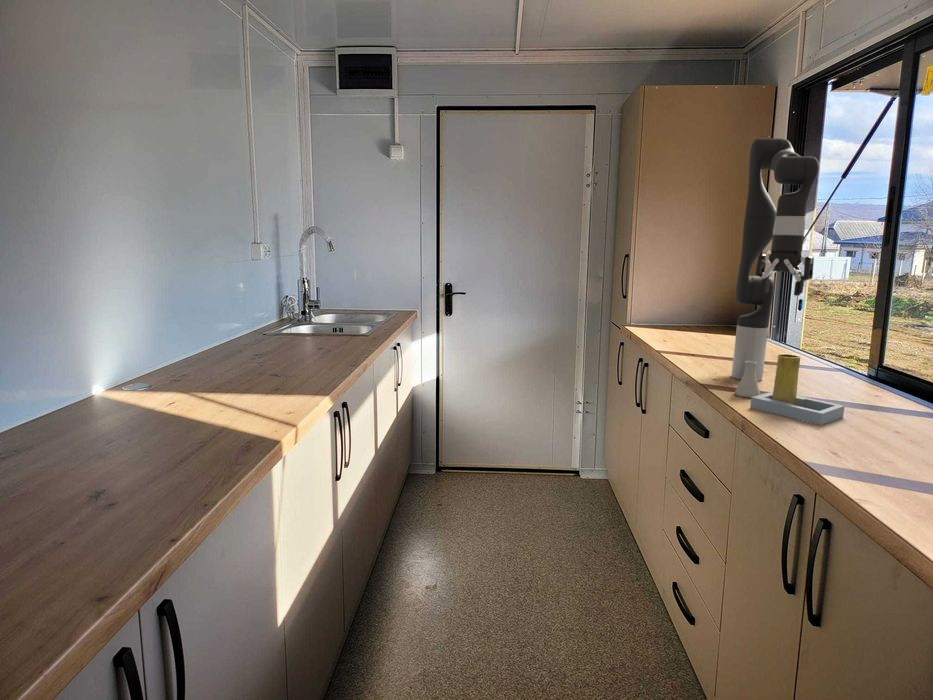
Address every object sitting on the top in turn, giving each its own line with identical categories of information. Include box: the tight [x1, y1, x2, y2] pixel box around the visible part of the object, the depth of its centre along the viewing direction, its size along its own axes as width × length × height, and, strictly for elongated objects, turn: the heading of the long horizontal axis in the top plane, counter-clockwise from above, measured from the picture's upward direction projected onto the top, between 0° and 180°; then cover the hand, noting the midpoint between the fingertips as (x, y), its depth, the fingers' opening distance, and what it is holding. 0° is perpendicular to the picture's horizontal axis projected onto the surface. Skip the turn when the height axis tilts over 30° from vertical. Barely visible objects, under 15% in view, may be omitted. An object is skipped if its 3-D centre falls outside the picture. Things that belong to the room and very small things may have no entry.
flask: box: [733, 361, 761, 399], centre depth 178 cm, size 7×7×10 cm
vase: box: [772, 353, 801, 405], centre depth 164 cm, size 6×6×14 cm
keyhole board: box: [750, 391, 845, 426], centre depth 163 cm, size 13×18×3 cm
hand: (780, 294), depth 169 cm, fingers open, 8 cm apart
